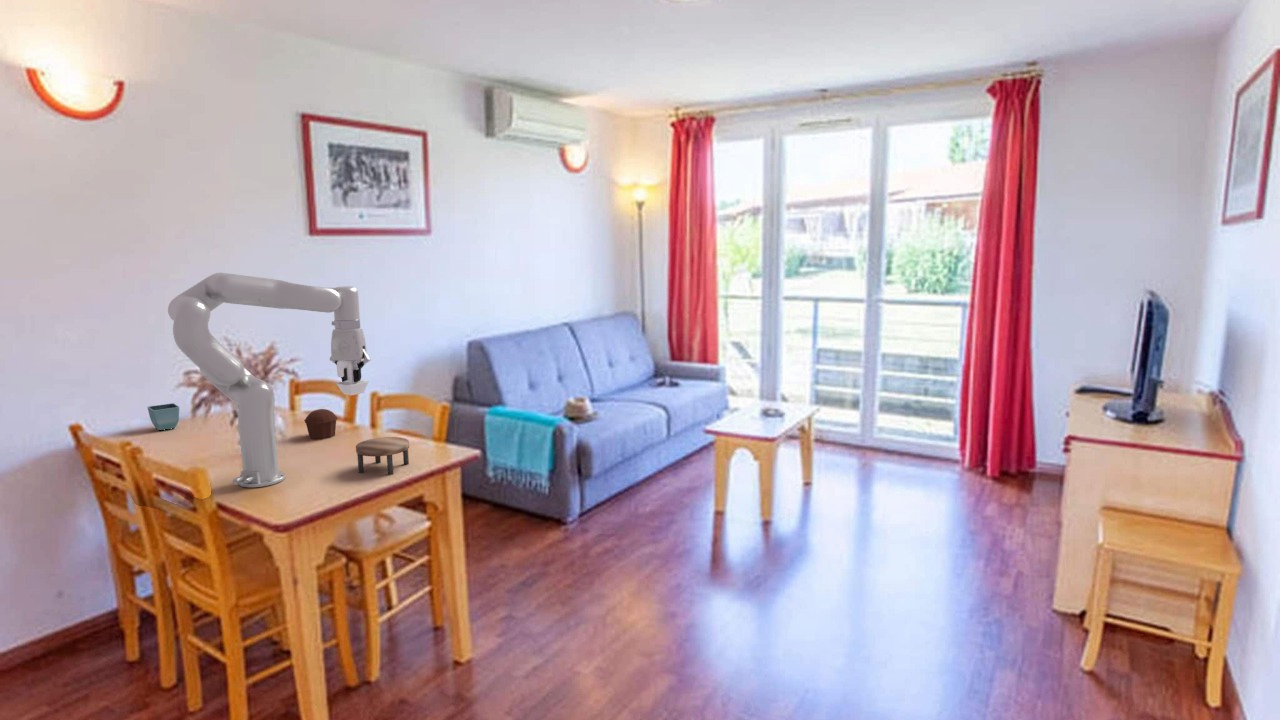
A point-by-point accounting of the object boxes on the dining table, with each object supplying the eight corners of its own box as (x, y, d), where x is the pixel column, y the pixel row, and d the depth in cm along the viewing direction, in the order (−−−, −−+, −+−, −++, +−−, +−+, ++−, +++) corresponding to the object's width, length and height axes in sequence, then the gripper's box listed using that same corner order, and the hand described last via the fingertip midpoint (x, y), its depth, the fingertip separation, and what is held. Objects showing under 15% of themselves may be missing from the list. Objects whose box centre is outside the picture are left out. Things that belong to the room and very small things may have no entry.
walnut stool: (394, 477, 216) (393, 452, 215) (347, 474, 219) (345, 449, 218) (419, 461, 232) (417, 438, 231) (374, 459, 235) (373, 436, 233)
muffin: (333, 440, 257) (331, 413, 255) (301, 441, 255) (299, 414, 253) (342, 431, 268) (340, 406, 266) (311, 432, 267) (309, 407, 265)
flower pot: (182, 429, 271) (179, 406, 269) (155, 433, 264) (152, 410, 263) (176, 425, 277) (173, 402, 275) (149, 429, 270) (146, 406, 269)
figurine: (333, 394, 227) (329, 349, 224) (359, 389, 235) (355, 345, 232) (347, 397, 223) (343, 351, 220) (372, 391, 231) (368, 346, 228)
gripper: (316, 326, 223) (321, 382, 226) (365, 327, 221) (369, 384, 224) (330, 323, 230) (334, 378, 233) (377, 324, 228) (381, 379, 231)
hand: (351, 380), depth 228 cm, fingers closed on figurine, 3 cm apart
